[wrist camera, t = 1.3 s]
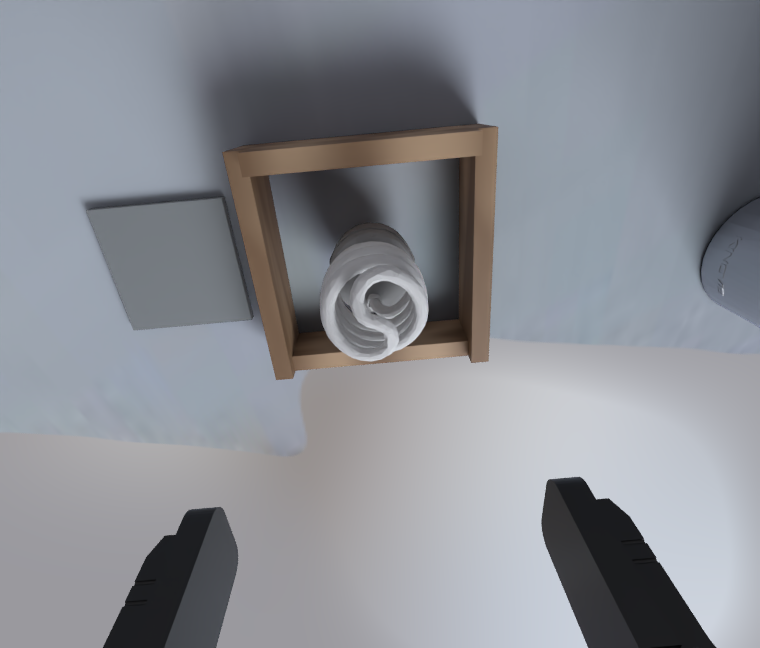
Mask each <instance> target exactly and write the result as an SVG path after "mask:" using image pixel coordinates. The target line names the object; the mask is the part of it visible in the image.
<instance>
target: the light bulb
mask: <svg viewBox="0 0 760 648" xmlns="http://www.w3.org/2000/svg"><path fill="white" fill-rule="evenodd" d="M343 301H344V302H345V303H346V304H347V305H349V306H350V307H351V310H352V312H351V311H350V310H349V309H348V308H347V307H346V305H345V304H344V302H343ZM428 311H429V309H428V295H427V289H426V285H425V283H424V279H423V276H422V274H421V272H420V270H419V268H418V266H417V265H416V264H415V259H414V256H413V254H412V252H411V250H410V248H409V246H408V245H407V243H406V242H405V240H404V239H403V238H402V237H401V235H400V234H399V233H398V232H397V231H396V230H394V229H392V228H391V227H389V226H387V225H383V224H380V223H365V224H360V225H357V226H355V227H354V228H352V229H350V230H349V231H347V232H346V233H345V234H344V235H343V237H342V238H341V239H340V241H339V242H338V243H337V244H336V247H335V249H334V251H333V254H332V256H331V258H330V266H329V268H328V270H327V272H326V275H325V277H324V280H323V284H322V288H321V292H320V316H321V321H322V325H323V327H324V329H325V332H326V334H327V336H328V338H329V339H330V340H331V341H332V343H333V344H334V345H335V346H336V347H337V348H338V349H339V350H341V351H342V352H343V353H345V354H346V355H348V356H350V357H351V358H354V359H357V360H361V361H371V362H372V361H376V360H381V359H383V358H385V357H386V356H388V355H390V354H392V353H393V352H394V351H397V350H400V349H402V348H404V347H406V346H407V345H409V344H410V343H412V342H413V341H414V340H415V339H416V338H417V337H418V336H419V334H420V333H421V332H422V330H423V328H424V326H425V324H426V322H427V318H428ZM370 312H375V313H376V314H377V315H375V314H372V313H370Z"/></svg>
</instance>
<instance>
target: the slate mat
mask: <svg viewBox="0 0 760 648" xmlns="http://www.w3.org/2000/svg"><path fill="white" fill-rule="evenodd" d="M86 212H87V214H88V217H89V219H90V222H91V224H92V227H93V229H94V232H95V234H96V237H97V239H98V242H99V244H100V247H101V250H102V252H103V255H104V257H105V260H106V262H107V265H108V267H109V270H110V272H111V275H112V277H113V280H114V282H115V285H116V287H117V290H118V292H119V295H120V297H121V300H122V302H123V305H124V307H125V310H126V312H127V315H128V317H129V320H130V322H131V325H132V327H133V330H144V329H155V328H166V327H177V326H189V325H200V324H211V323H222V322H234V321H245V320H252V318H253V317H254V316H253V312H252V308H251V304H250V300H249V296H248V292H247V287H246V283H245V279H244V275H243V271H242V267H241V263H240V259H239V255H238V251H237V247H236V243H235V239H234V235H233V231H232V226H231V222H230V218H229V214H228V210H227V206H226V202H225V198H224V197H213V198H202V199H191V200H180V201H170V202H159V203H148V204H137V205H126V206H115V207H104V208H93V209H89V210H86Z"/></svg>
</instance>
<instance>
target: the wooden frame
mask: <svg viewBox="0 0 760 648" xmlns="http://www.w3.org/2000/svg"><path fill="white" fill-rule="evenodd" d="M497 144H498V127H496V126H490V125H483V124H470V125H459V126H448V127H438V128H427V129H416V130H405V131H394V132H384V133H373V134H362V135H351V136H340V137H330V138H319V139H308V140H297V141H287V142H276V143H265V144H254V145H243V146H240V147H237V148H234V149H231V150H228V151H225V152H222V153H223V157H224V161H225V166H226V170H227V174H228V178H229V183H230V187H231V191H232V195H233V199H234V204H235V208H236V212H237V216H238V221H239V225H240V229H241V233H242V237H243V242H244V246H245V250H246V254H247V259H248V263H249V267H250V271H251V275H252V280H253V284H254V288H255V292H256V297H257V301H258V305H259V309H260V313H261V318H262V322H263V326H264V330H265V335H266V339H267V343H268V347H269V351H270V356H271V360H272V364H273V368H274V373H275V377H276V380H282V379H293V377H294V373H295V371H297V370H308V369H319V368H331V367H342V366H353V365H365V364H376V363H387V362H399V361H410V360H422V359H433V358H445V357H456V356H467V355H468V356H469V358H470V361H471V363H476V362H486V361H488V359H489V336H490V312H491V288H492V264H493V240H494V216H495V192H496V168H497ZM449 158H459V319H454V320H442V321H431V322H426V324H425V326H424V328H423V330H422V332H421V333H420V334H419V336H418V337H417V338H416V339H415V340H414V341H413V342H412V343H410V344H409V345H407V346H406V347H404V348H402V349H400V350H397V351H394V352H393V353H392V354H390V355H388V356H386V357H385V358H383V359H381V360H376V361H372V362H371V361H361V360H357V359H354V358H351V357H350V356H348V355H346V354H345V353H343V352H342V351H341V350H339V349H338V348H337V347H336V346H335V345H334V344H333V343H332V341H331V340H330V339H329V338H328V336H327V334H326V332H325V331H318V332H307V333H299V330H298V325H297V320H296V315H295V310H294V305H293V300H292V295H291V289H290V284H289V279H288V274H287V269H286V264H285V259H284V253H283V248H282V243H281V238H280V233H279V228H278V223H277V218H276V212H275V207H274V202H273V197H272V192H271V187H270V182H269V176H268V175H275V174H286V173H297V172H308V171H319V170H329V169H340V168H351V167H362V166H373V165H384V164H395V163H405V162H416V161H427V160H438V159H449Z"/></svg>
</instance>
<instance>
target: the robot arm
mask: <svg viewBox="0 0 760 648" xmlns="http://www.w3.org/2000/svg"><path fill="white" fill-rule="evenodd" d="M701 276H702V284H703V286H704V289H705V292H706V293H707V294H708V296H709V297H710V298H711V300H713V301H714V302H716V303H717V304H719V305H720V306H722V307H724V308H725V309H727V310H729V311H731V312H733V313H734V314H736V315H738V316H740V317H742V318H743V319H745V320H747V321H749V322H750V323H752V324H754V325H756V326H757V327H759V328H760V198H758V199H756V200H754V201H752V202H750V203H749V204H747V205H746V206H744V207H743V208H741V209H740V210H738V211H737V212H736V213H735V214H734V215H733V216H731V217H730V218H729V219H728V220H727V221H726V222H725V223H724V224H723V226H722V227H721V228H720V229H719V230H718V232H717V233H716V234H715V236H714V237H713V239H712V241H711V242H710V244H709V246H708V248H707V251H706V253H705V256H704V258H703V264H702V269H701ZM542 532H543V537H544V541H545V544H546V547H547V549H548V552H549V554H550V557H551V559H552V562H553V564H554V566H555V569H556V571H557V573H558V576H559V578H560V581H561V583H562V586H563V588H564V590H565V593H566V595H567V598H568V600H569V602H570V605H571V607H572V610H573V612H574V614H575V617H576V619H577V622H578V624H579V626H580V629H581V631H582V634H583V636H584V638H585V641H586V643H587V646H588V648H716V647H715V646H714V645H713V643H712V642H711V641H710V639H709V638H708V636H707V635H706V633H705V632H704V630H703V629H702V627H701V626H700V624H699V623H698V621H697V620H696V618H695V617H694V615H693V613H692V612H691V611H690V609H689V607H688V606H687V604H686V603H685V601H684V600H683V598H682V596H681V595H680V594H679V592H678V590H677V589H676V587H675V586H674V584H673V583H672V581H671V580H670V578H669V576H668V575H667V573H666V572H665V570H664V569H663V568H662V566H661V564H660V563H658V562H657V560H656V556H655V555H654V553H653V552H652V550H651V549H650V548H649V546H648V544H647V543H645V542H644V538H643V536H642V535H641V533H640V532H639V530H638V529H637V527H636V526H635V524H634V523H633V521H632V520H631V518H630V517H629V516H628V515H627V514H626V513H625V512H624V511H623V510H621V509H620V508H619V507H618V506H617V505H616V504H614V503H613V502H612V501H611V500H610V499H597V500H596V499H595V497H594V495H593V494H592V492H591V490H590V488H589V487H588V485H587V483H586V482H585V481H584V480H583V479H582V478H581V477H572V478H560V479H550V480H548V481H547V485H546V492H545V499H544V506H543V513H542ZM237 565H238V549H237V545H236V542H235V539H234V536H233V534H232V531H231V528H230V526H229V523H228V520H227V517H226V515H225V512H224V510H223V509H222V508H221V507H215V508H203V509H192V510H189V511H187V513H186V514H185V516H184V517H183V520H182V522H181V524H180V526H179V529H178V531H177V533H176V535H168V536H164V538H163V539H162V540H161V541H160V542H159V543H158V544H157V546H156V547H155V548H154V549H153V550H152V551H151V553H150V554H149V555H148V556H147V557H146V559H145V561H144V563H143V565H142V567H141V570H140V572H139V574H138V576H137V578H136V580H135V585H134V586H132V588H131V590H130V592H129V595H128V596H127V599H126V601H125V606H124V607H122V609H121V611H120V613H119V615H118V617H117V619H116V622H115V624H114V626H113V628H112V630H111V632H110V634H109V636H108V638H107V640H106V642H105V645H104V647H103V648H216V646H217V642H218V638H219V634H220V630H221V627H222V623H223V619H224V616H225V612H226V609H227V605H228V601H229V598H230V594H231V590H232V586H233V583H234V579H235V575H236V571H237Z"/></svg>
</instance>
